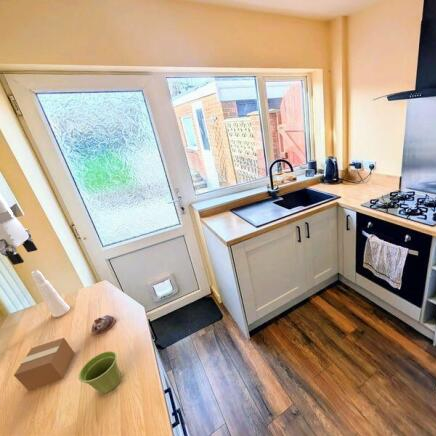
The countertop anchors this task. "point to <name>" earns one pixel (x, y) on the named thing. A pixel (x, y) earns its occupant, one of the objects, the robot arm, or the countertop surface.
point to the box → (45, 364)
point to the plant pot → (101, 372)
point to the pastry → (102, 324)
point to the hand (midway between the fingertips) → (26, 256)
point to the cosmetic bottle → (50, 295)
